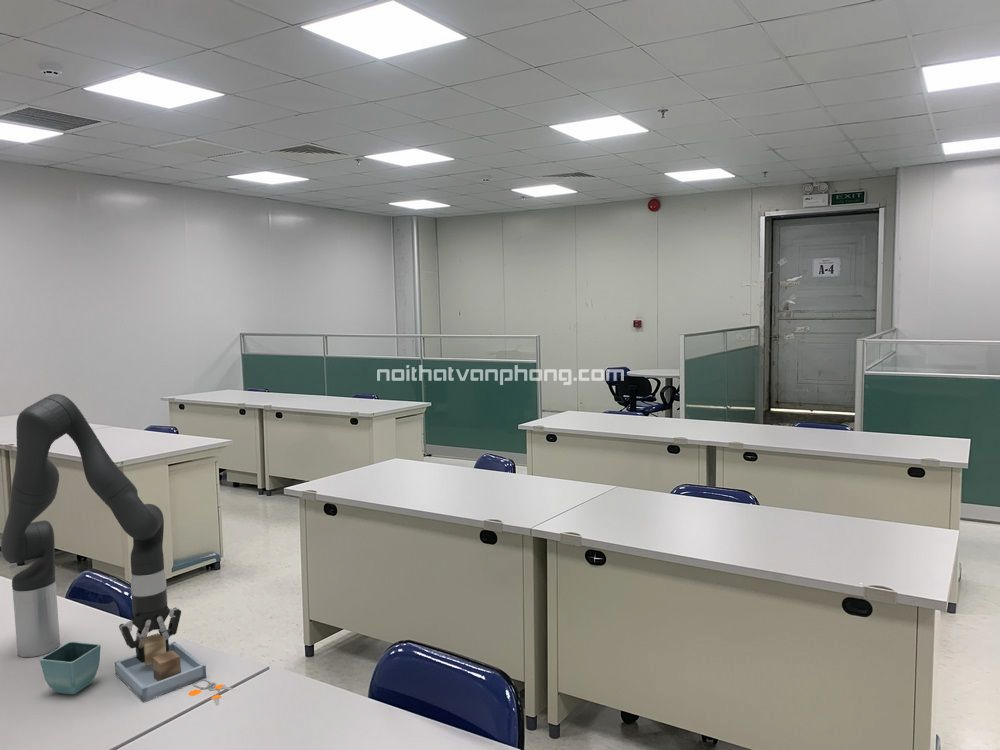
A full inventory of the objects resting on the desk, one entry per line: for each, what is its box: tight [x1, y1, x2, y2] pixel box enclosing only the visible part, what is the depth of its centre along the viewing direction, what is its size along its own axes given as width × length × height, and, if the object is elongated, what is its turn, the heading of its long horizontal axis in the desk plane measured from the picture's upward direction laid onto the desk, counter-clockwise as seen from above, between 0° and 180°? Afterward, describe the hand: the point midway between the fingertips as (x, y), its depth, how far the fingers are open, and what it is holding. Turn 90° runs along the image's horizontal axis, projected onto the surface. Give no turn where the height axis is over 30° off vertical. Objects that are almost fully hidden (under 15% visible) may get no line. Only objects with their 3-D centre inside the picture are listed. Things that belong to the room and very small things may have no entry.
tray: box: [114, 641, 207, 703], centre depth 165 cm, size 18×14×3 cm
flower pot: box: [39, 641, 102, 696], centre depth 160 cm, size 9×9×9 cm
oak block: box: [143, 632, 166, 665], centre depth 167 cm, size 4×4×5 cm
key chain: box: [188, 678, 234, 707], centre depth 158 cm, size 13×7×1 cm, turn 59°
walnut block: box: [153, 651, 181, 681], centre depth 162 cm, size 4×4×5 cm
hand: (153, 657), depth 168 cm, fingers closed on oak block, 4 cm apart
